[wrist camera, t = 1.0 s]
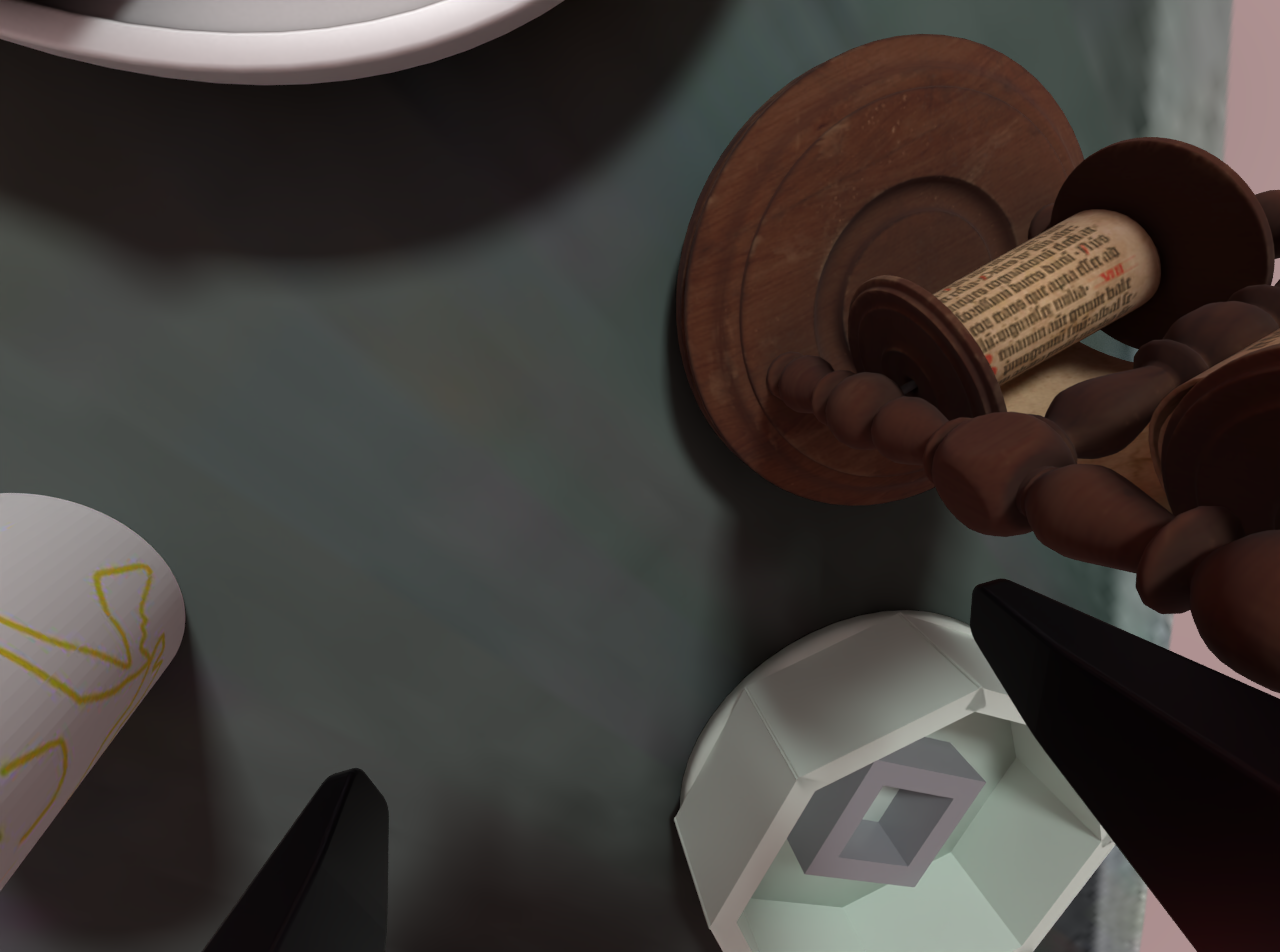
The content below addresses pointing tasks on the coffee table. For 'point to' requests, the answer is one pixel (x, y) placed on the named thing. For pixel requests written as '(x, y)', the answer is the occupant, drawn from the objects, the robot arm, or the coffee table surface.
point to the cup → (71, 652)
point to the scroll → (999, 325)
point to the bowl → (262, 35)
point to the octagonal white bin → (880, 801)
